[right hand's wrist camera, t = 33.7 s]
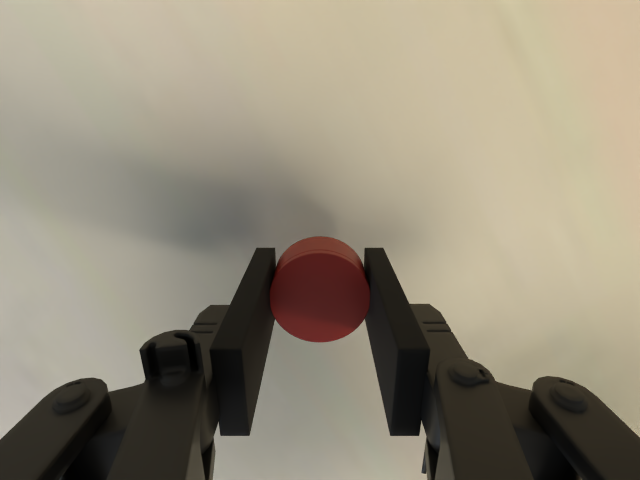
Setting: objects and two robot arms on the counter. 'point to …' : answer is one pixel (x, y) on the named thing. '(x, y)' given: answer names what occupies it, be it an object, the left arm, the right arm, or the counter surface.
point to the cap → (319, 290)
